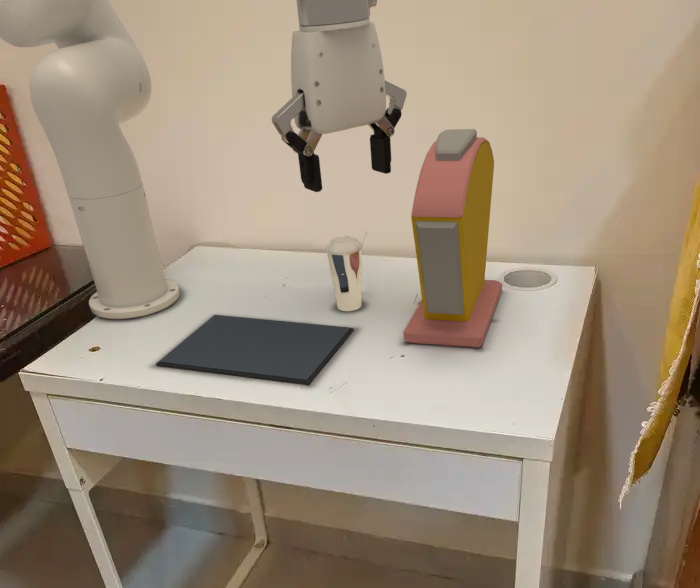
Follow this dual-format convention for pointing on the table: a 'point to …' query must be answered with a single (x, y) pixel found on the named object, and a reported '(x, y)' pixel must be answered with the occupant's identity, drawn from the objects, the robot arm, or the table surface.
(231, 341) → the mouse pad
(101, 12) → the robot arm
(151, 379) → the table surface
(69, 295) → the table surface
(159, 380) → the table surface
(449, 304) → the clock
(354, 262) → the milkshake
